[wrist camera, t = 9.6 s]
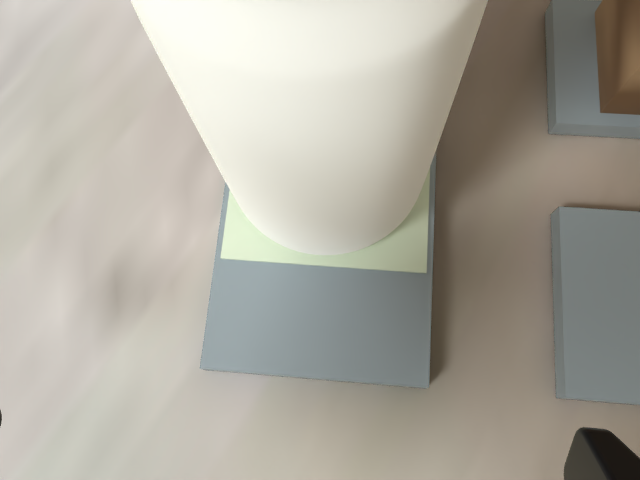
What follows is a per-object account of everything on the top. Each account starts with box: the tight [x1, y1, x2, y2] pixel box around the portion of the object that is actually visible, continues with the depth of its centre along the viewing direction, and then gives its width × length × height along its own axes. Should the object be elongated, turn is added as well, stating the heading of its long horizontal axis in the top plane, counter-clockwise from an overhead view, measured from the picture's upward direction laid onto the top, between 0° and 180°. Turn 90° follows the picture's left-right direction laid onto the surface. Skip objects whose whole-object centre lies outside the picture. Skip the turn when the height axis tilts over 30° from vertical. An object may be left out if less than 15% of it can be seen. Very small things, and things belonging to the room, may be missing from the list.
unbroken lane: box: [200, 152, 436, 389], centre depth 20 cm, size 14×7×1 cm, turn 175°
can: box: [130, 0, 488, 255], centre depth 13 cm, size 6×6×12 cm
